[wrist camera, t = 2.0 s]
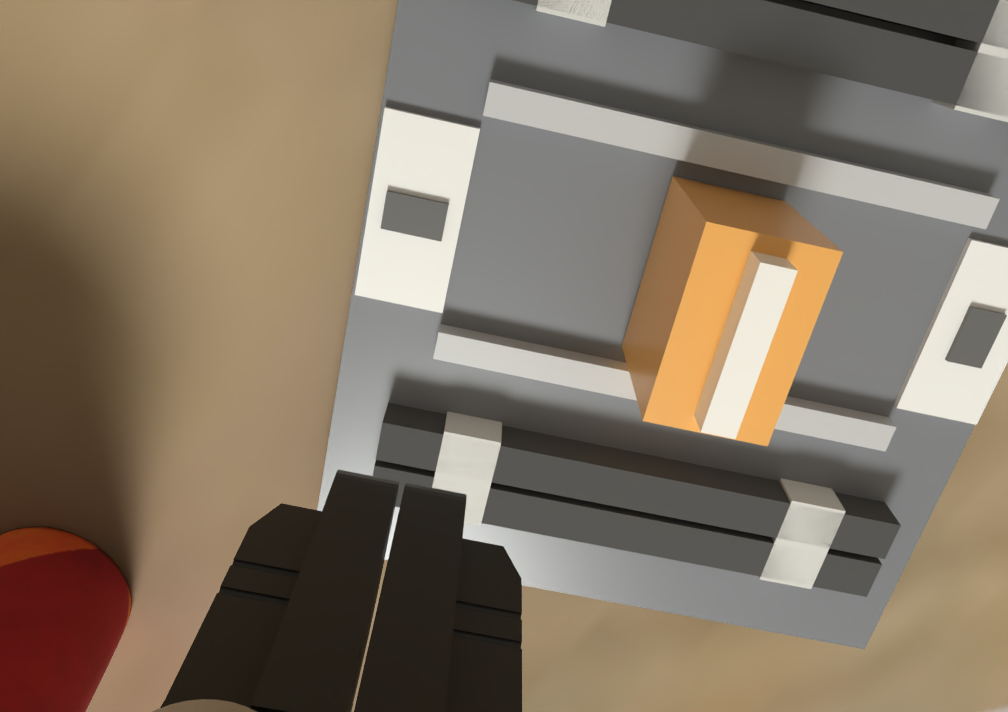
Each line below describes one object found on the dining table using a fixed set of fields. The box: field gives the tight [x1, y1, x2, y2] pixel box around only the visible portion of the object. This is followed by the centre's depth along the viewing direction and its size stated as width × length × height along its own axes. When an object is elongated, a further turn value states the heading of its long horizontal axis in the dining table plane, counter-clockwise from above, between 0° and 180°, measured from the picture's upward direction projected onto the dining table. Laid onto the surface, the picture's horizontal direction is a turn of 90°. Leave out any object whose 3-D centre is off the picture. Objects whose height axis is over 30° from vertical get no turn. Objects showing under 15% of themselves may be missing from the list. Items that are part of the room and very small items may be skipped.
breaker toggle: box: [622, 176, 843, 446], centre depth 21 cm, size 5×3×5 cm, turn 167°
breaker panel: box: [317, 0, 1008, 649], centre depth 24 cm, size 22×18×3 cm
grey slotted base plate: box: [373, 0, 1008, 597], centre depth 24 cm, size 17×15×4 cm
